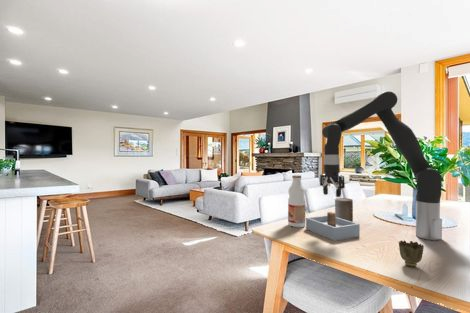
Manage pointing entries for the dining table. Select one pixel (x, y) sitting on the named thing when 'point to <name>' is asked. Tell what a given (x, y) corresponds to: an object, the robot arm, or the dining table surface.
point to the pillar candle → (344, 208)
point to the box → (333, 228)
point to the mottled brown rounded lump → (411, 252)
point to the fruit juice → (296, 203)
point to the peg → (331, 219)
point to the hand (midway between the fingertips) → (331, 195)
